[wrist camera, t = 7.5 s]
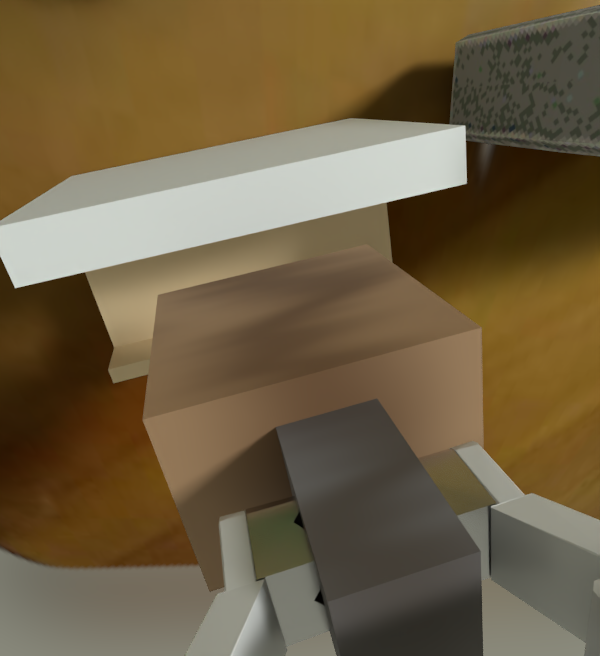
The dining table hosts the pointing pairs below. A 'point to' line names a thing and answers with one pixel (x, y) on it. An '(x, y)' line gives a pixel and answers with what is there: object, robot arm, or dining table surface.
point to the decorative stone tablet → (532, 84)
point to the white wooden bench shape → (223, 215)
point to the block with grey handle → (329, 436)
